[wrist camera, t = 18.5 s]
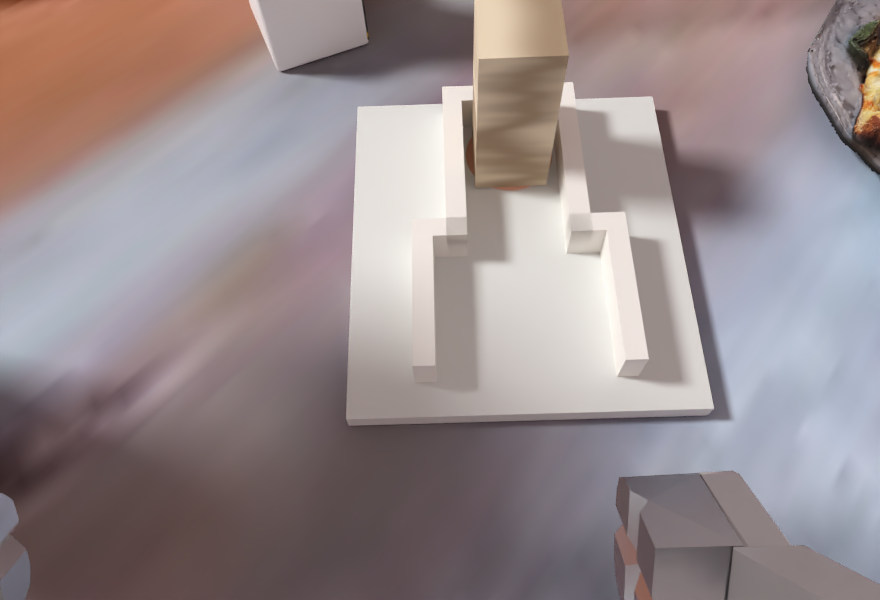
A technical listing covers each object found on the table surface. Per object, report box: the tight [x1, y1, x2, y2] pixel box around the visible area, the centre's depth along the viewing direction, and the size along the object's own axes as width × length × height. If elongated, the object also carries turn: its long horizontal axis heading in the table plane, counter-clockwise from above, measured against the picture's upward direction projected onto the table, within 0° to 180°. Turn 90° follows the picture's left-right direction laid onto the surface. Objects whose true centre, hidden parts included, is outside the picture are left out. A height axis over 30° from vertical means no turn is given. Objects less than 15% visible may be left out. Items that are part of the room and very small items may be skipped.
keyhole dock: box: [346, 82, 714, 426], centre depth 44 cm, size 20×22×4 cm
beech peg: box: [472, 0, 569, 188], centre depth 42 cm, size 4×4×11 cm
